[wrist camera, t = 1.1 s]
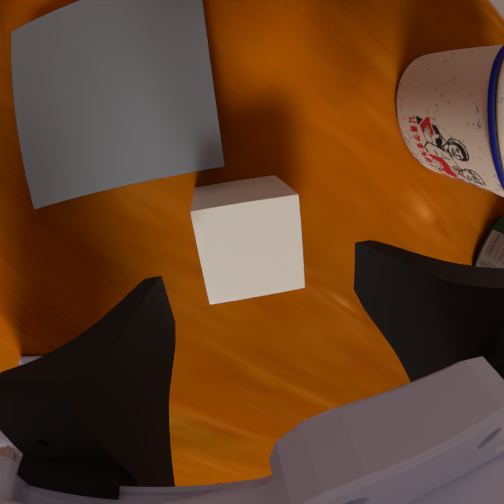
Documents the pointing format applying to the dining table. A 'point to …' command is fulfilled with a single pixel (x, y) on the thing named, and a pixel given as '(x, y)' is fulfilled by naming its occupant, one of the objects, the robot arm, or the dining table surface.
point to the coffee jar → (492, 247)
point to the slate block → (113, 96)
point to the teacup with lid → (456, 114)
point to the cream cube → (248, 238)
